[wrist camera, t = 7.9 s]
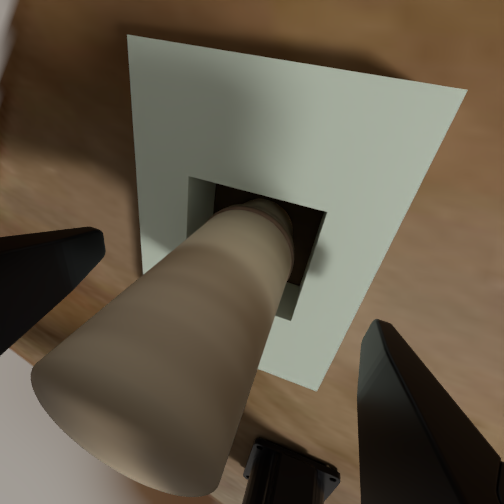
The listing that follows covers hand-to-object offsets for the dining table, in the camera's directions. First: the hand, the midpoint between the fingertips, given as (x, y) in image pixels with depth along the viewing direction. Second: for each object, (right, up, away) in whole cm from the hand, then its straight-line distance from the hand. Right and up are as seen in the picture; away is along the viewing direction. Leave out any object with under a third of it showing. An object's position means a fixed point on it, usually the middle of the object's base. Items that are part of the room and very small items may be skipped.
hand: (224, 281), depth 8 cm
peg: (+1, +2, +4) cm, 4 cm away
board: (+1, +2, +4) cm, 4 cm away
